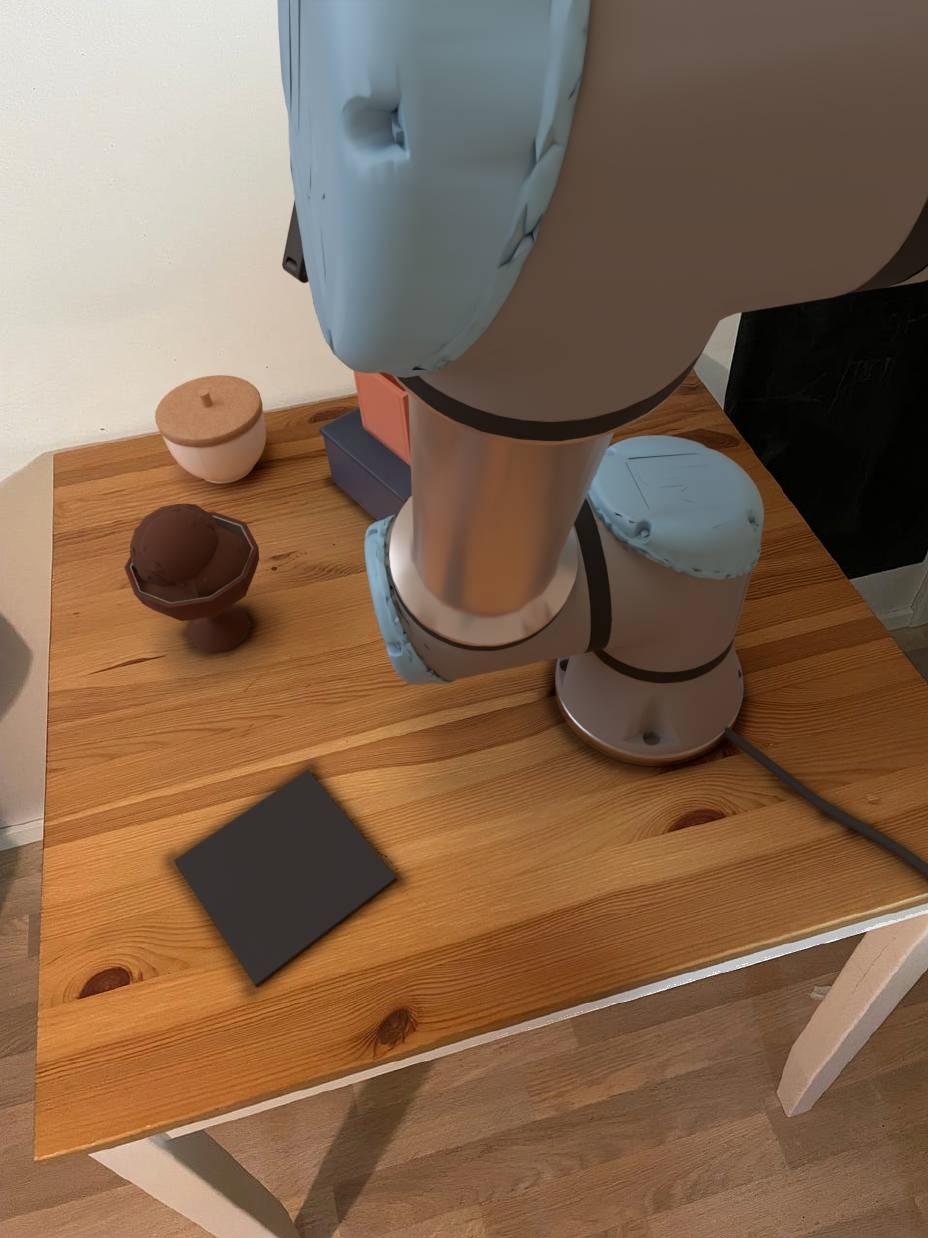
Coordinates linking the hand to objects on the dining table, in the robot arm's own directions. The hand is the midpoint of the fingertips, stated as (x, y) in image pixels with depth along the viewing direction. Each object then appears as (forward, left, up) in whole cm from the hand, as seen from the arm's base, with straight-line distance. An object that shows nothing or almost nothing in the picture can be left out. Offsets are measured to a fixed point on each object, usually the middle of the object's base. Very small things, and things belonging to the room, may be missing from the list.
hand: (405, 312), depth 81 cm
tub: (0, 0, -13) cm, 13 cm away
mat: (-27, +34, -20) cm, 48 cm away
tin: (0, 0, -20) cm, 20 cm away
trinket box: (+17, +14, -20) cm, 29 cm away
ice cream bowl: (-3, +26, -20) cm, 33 cm away
